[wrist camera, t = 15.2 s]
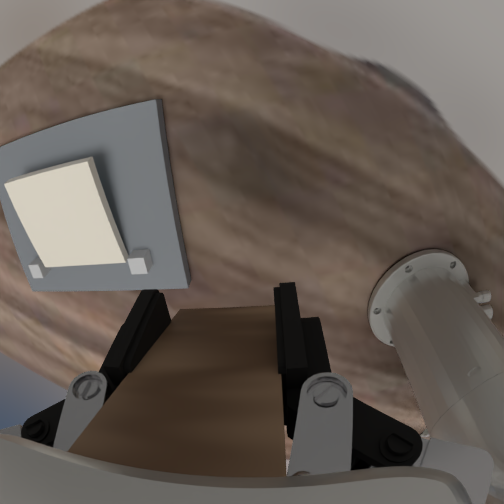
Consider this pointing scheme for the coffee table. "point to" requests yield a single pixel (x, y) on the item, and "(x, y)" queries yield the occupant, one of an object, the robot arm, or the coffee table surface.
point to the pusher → (199, 400)
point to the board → (108, 198)
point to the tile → (67, 215)
